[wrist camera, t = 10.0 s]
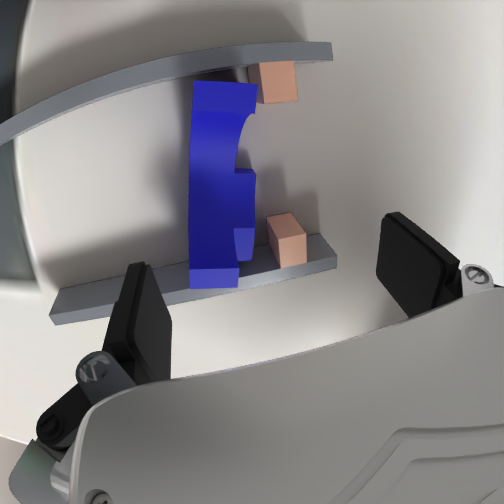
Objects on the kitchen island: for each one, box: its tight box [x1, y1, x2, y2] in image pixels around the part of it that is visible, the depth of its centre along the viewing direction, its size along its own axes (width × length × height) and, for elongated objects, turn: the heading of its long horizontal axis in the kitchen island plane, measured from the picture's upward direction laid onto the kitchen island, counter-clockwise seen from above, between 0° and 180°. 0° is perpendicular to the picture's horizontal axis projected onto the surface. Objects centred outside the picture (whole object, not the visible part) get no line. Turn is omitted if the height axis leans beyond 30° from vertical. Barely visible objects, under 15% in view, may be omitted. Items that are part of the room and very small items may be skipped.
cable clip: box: [188, 81, 258, 289], centre depth 18 cm, size 12×4×6 cm, turn 174°
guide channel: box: [0, 42, 337, 325], centre depth 18 cm, size 24×16×4 cm
